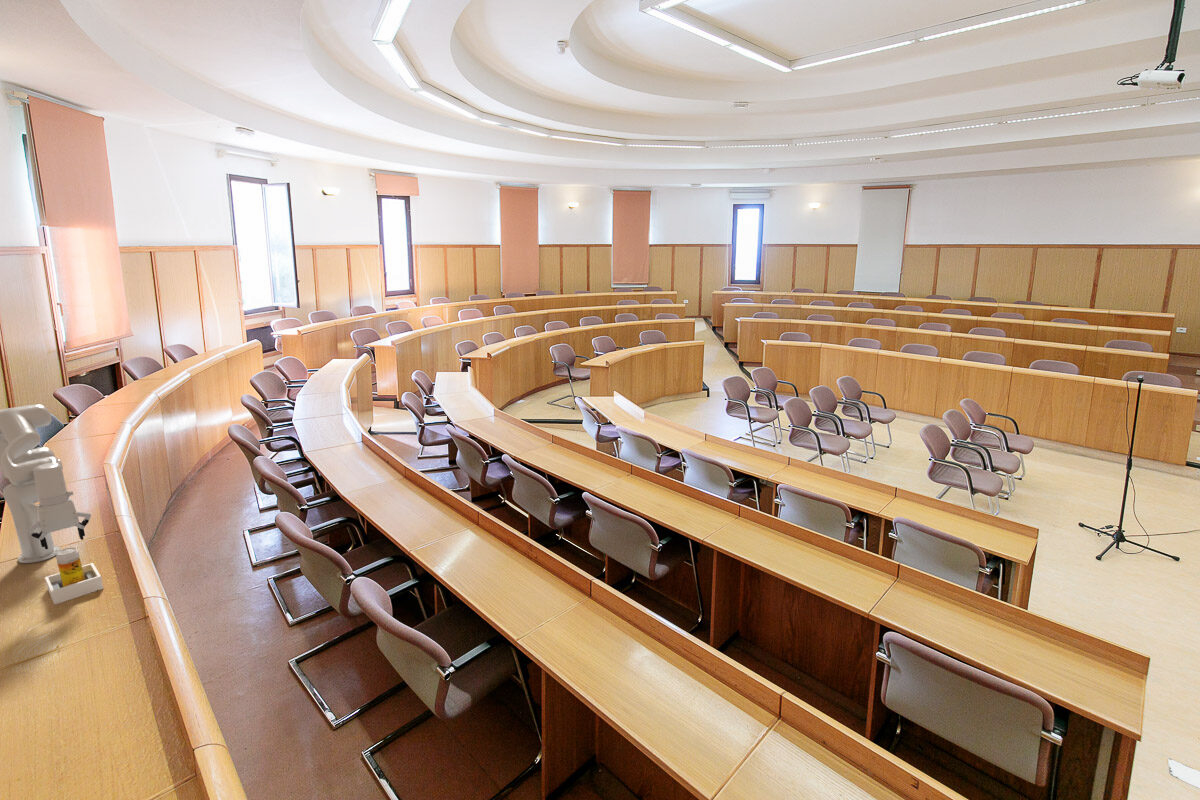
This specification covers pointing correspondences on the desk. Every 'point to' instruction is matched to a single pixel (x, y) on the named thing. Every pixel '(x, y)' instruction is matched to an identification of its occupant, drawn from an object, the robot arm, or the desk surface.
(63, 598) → the socket box
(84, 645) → the desk surface
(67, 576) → the beer can
